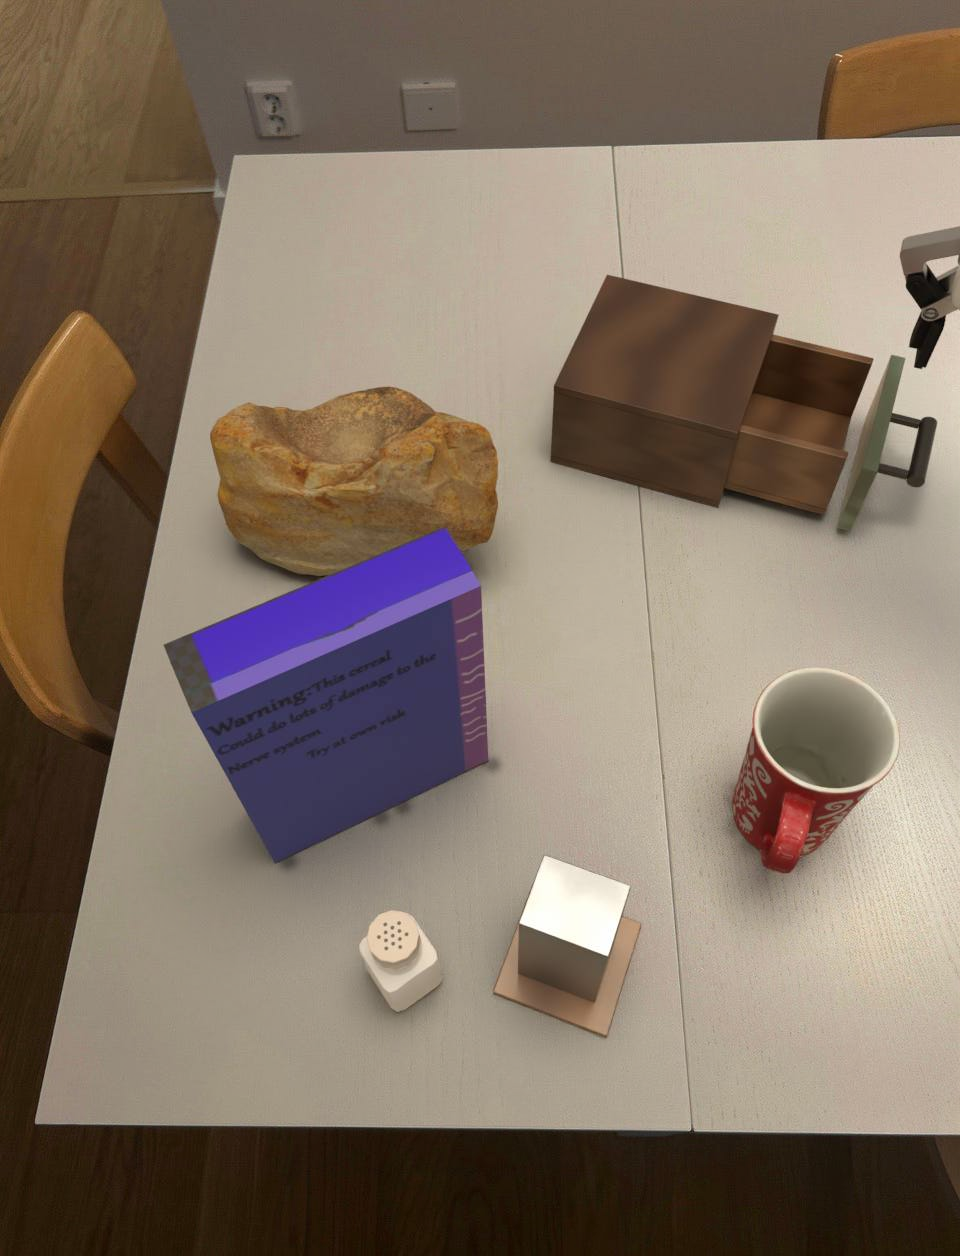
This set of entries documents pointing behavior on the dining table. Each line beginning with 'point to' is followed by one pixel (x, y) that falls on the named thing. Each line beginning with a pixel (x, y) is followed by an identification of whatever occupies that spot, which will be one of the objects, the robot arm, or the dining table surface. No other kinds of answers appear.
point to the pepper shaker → (400, 959)
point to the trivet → (564, 1003)
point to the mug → (810, 761)
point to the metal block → (570, 927)
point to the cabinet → (659, 388)
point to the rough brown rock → (352, 478)
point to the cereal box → (344, 692)
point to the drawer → (819, 429)
